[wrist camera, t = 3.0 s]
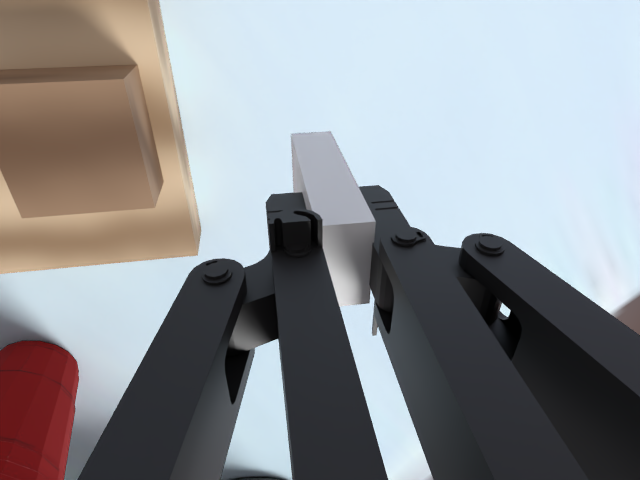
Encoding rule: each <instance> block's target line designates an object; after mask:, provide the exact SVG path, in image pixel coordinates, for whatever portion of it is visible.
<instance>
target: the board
mask: <svg viewBox="0 0 640 480" xmlns="http://www.w3.org/2000/svg"><path fill="white" fill-rule="evenodd" d="M111 65H138V69H139V73H140V78H141V82H142V86H143V91H144V95H145V100H146V104H147V109H148V113H149V118H150V122H151V127H152V131H153V135H154V140H155V144H156V149H157V153H158V158H159V162H160V167H161V171H162V176H163V180H164V183H163V186H162V189H161V192H160V195H159V198H158V201H157V204H156V207H155V208H148V209H136V210H123V211H110V212H98V213H85V214H73V215H60V216H47V217H35V218H22V217H21V215H20V213H19V211H18V208H17V206H16V204H15V202H14V199H13V197H12V195H11V193H10V190H9V188H8V186H7V184H6V181H5V179H4V177H3V175H2V172H1V170H0V274H4V273H15V272H25V271H36V270H47V269H57V268H68V267H78V266H89V265H100V264H110V263H121V262H132V261H142V260H153V259H164V258H174V257H185V256H196V255H198V249H199V242H200V235H201V226H200V221H199V215H198V210H197V205H196V199H195V194H194V188H193V183H192V178H191V172H190V167H189V161H188V156H187V151H186V145H185V140H184V134H183V129H182V124H181V118H180V113H179V107H178V102H177V97H176V91H175V86H174V80H173V75H172V70H171V64H170V59H169V53H168V48H167V43H166V37H165V32H164V26H163V21H162V15H161V10H160V5H159V0H0V70H6V69H32V68H59V67H85V66H111Z"/></svg>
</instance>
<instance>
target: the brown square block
mask: <svg viewBox="0 0 640 480" xmlns="http://www.w3.org/2000/svg"><path fill="white" fill-rule="evenodd" d="M0 170H1V172H2V175H3V177H4V179H5V181H6V184H7V186H8V188H9V190H10V193H11V195H12V197H13V199H14V202H15V204H16V206H17V208H18V211H19V213H20V215H21V217H22V218H35V217H47V216H60V215H73V214H85V213H98V212H110V211H123V210H136V209H148V208H155V207H156V204H157V201H158V198H159V195H160V192H161V189H162V186H163V183H164V180H163V176H162V171H161V167H160V162H159V158H158V153H157V149H156V144H155V140H154V135H153V131H152V127H151V122H150V118H149V113H148V109H147V104H146V100H145V95H144V91H143V86H142V82H141V78H140V73H139V69H138V65H111V66H85V67H59V68H32V69H6V70H0Z"/></svg>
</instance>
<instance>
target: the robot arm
mask: <svg viewBox="0 0 640 480" xmlns="http://www.w3.org/2000/svg"><path fill="white" fill-rule="evenodd" d="M291 145H292V168H293V190H294V193H284V194H271V196H270V197H269V199H268V200H267V202H266V212H267V223H268V235H269V246H270V251H269V253H268V254H267V256H266V257H265V258H264V259H263V260H261V261H259V262H258V263H256V264H253V265H251V266H248V267H245V268H243V266H242V265H241V264H240V263H238V262H236V261H235V260H231V259H225V258H223V259H212V260H209V261H206V262H203V263H201V264H200V265H198V266H196V267H195V268H194V269H193V270H192V271H191V272H190V273H189V275H188V277H187V279H186V281H185V283H184V284H183V286H182V288H181V290H180V292H179V294H178V295H177V297H176V299H175V301H174V303H173V305H172V307H171V308H170V310H169V312H168V314H167V316H166V318H165V319H164V321H163V323H162V325H161V327H160V329H159V330H158V332H157V334H156V336H155V338H154V340H153V342H152V343H151V345H150V347H149V349H148V351H147V353H146V354H145V356H144V358H143V360H142V362H141V364H140V365H139V367H138V369H137V371H136V373H135V375H134V376H133V378H132V380H131V382H130V384H129V386H128V388H127V389H126V391H125V393H124V395H123V397H122V399H121V400H120V402H119V404H118V406H117V408H116V410H115V411H114V413H113V415H112V417H111V419H110V421H109V423H108V424H107V426H106V428H105V430H104V432H103V434H102V435H101V437H100V439H99V441H98V443H97V445H96V446H95V448H94V450H93V452H92V454H91V456H90V457H89V459H88V461H87V463H86V465H85V467H84V469H83V470H82V472H81V474H80V476H79V478H78V480H220V478H221V474H222V471H223V467H224V463H225V460H226V456H227V452H228V449H229V445H230V442H231V438H232V434H233V431H234V427H235V423H236V420H237V416H238V412H239V409H240V405H241V401H242V398H243V394H244V390H245V387H246V383H247V379H248V376H249V372H250V368H251V365H252V361H253V357H254V354H255V347H258V346H260V345H263V344H265V343H268V342H270V341H273V340H275V339H278V340H279V350H280V360H281V370H282V380H283V390H284V400H285V410H286V420H287V430H288V440H289V450H290V460H291V470H292V479H293V480H388V478H387V474H386V471H385V467H384V463H383V460H382V456H381V453H380V449H379V446H378V442H377V439H376V435H375V432H374V428H373V424H372V421H371V417H370V414H369V410H368V407H367V403H366V400H365V396H364V392H363V389H362V385H361V382H360V378H359V375H358V371H357V368H356V364H355V360H354V357H353V353H352V350H351V346H350V343H349V339H348V336H347V332H346V328H345V325H344V321H343V318H342V314H341V311H340V307H339V306H348V305H357V304H366V303H369V302H370V289H371V291H372V293H373V296H374V298H375V302H374V314H373V325H372V335H373V336H374V335H376V334H377V327H379V330H380V333H381V336H382V338H383V341H384V344H385V347H386V349H387V352H388V355H389V358H390V360H391V363H392V366H393V369H394V372H395V374H396V377H397V380H398V383H399V385H400V388H401V391H402V394H403V396H404V399H405V402H406V405H407V407H408V410H409V413H410V416H411V418H412V421H413V424H414V427H415V429H416V432H417V435H418V438H419V441H420V443H421V446H422V449H423V452H424V454H425V457H426V460H427V463H428V465H429V468H430V471H431V474H432V476H433V479H434V480H640V335H639V334H637V333H636V332H634V331H633V330H631V329H630V328H629V327H627V326H626V325H625V324H623V323H622V322H620V321H619V320H618V319H616V318H615V317H614V316H612V315H611V314H609V313H608V312H607V311H605V310H604V309H603V308H601V307H600V306H598V305H597V304H596V303H594V302H593V301H591V300H590V299H589V298H587V297H586V296H584V295H583V294H582V293H580V292H579V291H577V290H576V289H575V288H573V287H572V286H571V285H569V284H568V283H566V282H565V281H564V280H562V279H561V278H559V277H558V276H557V275H555V274H554V273H552V272H551V271H550V270H548V269H547V268H546V267H544V266H543V265H541V264H540V263H539V262H537V261H536V260H534V259H533V258H532V257H530V256H529V255H527V254H526V253H525V252H523V251H522V250H521V249H519V248H518V247H516V246H515V245H514V244H512V243H511V242H509V241H507V240H506V239H504V238H502V237H499V236H496V235H493V234H488V233H487V234H486V233H479V234H472V235H470V236H467V237H466V238H465V239H464V240H463V242H462V246H461V248H455V247H445V246H439V245H434V243H433V242H432V240H431V238H430V237H429V236H428V235H427V234H426V233H425V232H423V231H421V230H419V229H417V228H413V227H410V225H409V224H408V222H407V220H406V219H405V217H404V216H403V214H402V212H401V211H400V209H398V206H397V204H396V203H395V202H394V199H393V198H392V196H391V194H390V193H389V192H388V191H387V190H385V189H383V188H382V187H380V186H379V185H376V186H362V187H358V185H357V183H356V181H355V179H354V177H353V175H352V173H351V171H350V169H349V167H348V165H347V163H346V161H345V159H344V157H343V155H342V153H341V151H340V149H339V147H338V145H337V143H336V141H335V139H334V137H333V135H332V133H331V131H329V132H312V133H295V134H291ZM502 303H503V304H504V305H505V306H507V307H508V308H509V309H510V310H511V312H510V315H509V317H506V316H505V315H503V314H502V313H501V312H500V311H499V310H500V307H501V304H502ZM238 480H278V479H271V478H246V479H238Z"/></svg>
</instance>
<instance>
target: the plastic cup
mask: <svg viewBox="0 0 640 480" xmlns="http://www.w3.org/2000/svg"><path fill="white" fill-rule="evenodd" d="M78 372H79V370H78V365H77V361H76V360H75V359H74V358H73V357H72V355H71V354H70V353H69V352H67V351H66V350H64V349H62V348H60V347H59V346H57V345H54V344H50V343H46V342H42V341H20V342H17V343H13V344H10V345H7V346H6V347H5V348H3V349H2V350H1V351H0V480H64V475H65V469H66V463H67V457H68V451H69V445H70V439H71V432H72V426H73V420H74V414H75V399H76V393H77V387H78V381H79V376H78Z"/></svg>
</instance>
